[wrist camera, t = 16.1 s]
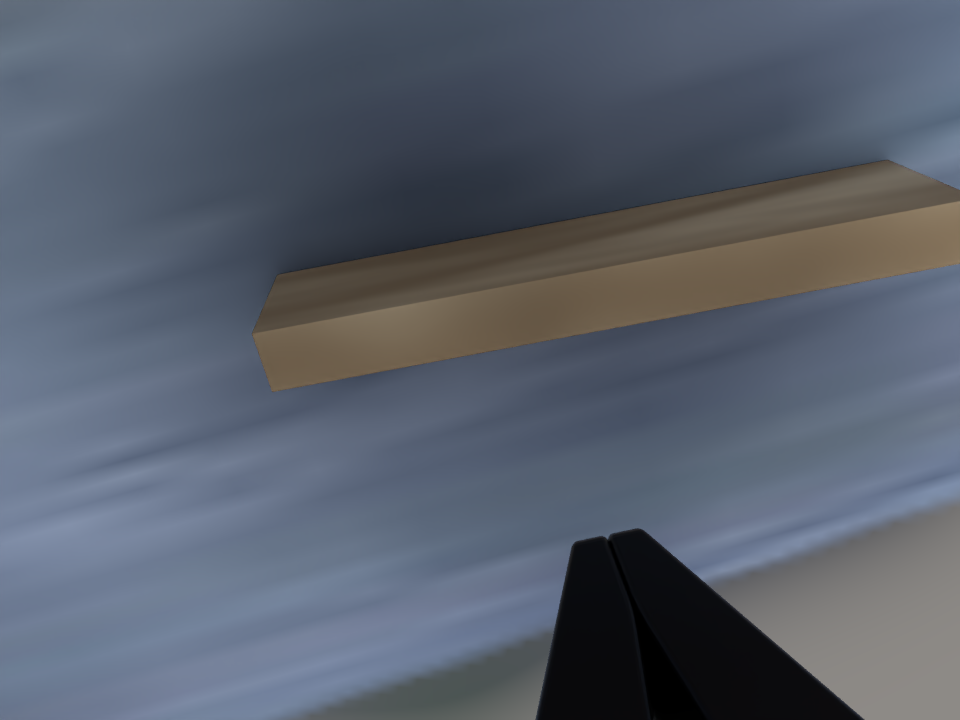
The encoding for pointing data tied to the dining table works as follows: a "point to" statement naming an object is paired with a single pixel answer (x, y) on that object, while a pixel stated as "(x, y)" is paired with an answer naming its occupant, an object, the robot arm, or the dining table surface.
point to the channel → (605, 272)
